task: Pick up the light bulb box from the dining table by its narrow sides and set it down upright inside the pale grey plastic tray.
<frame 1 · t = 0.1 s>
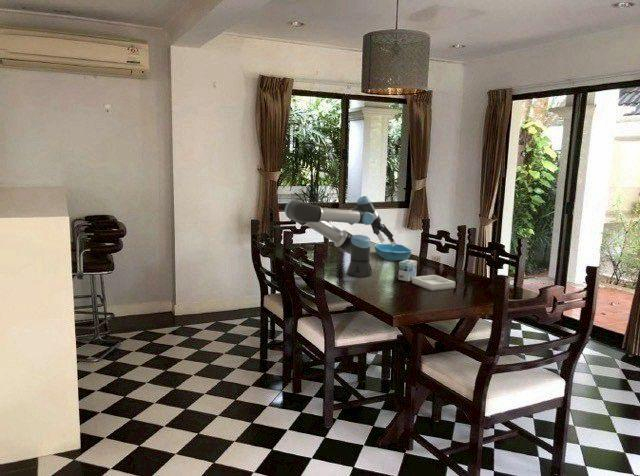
hand: (388, 243, 329), 15 cm above the table, tool tilted 35°, fingers open, 13 cm apart
casserole dish: (392, 257, 364), on the table
tray: (433, 285, 284), on the table
light bulb box: (407, 279, 298), on the table
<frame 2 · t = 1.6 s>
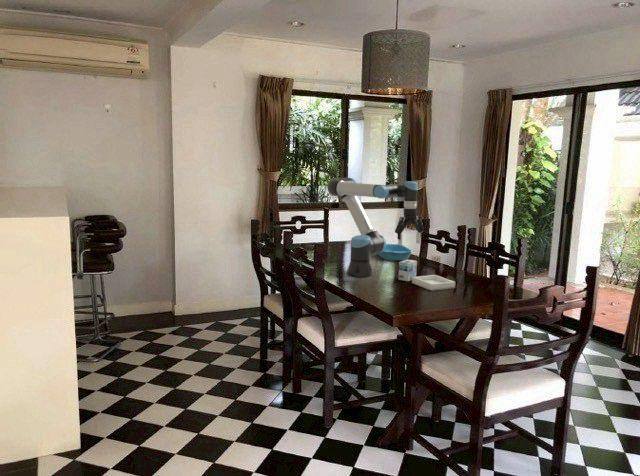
hand: (409, 244, 297), 21 cm above the table, tool pointing down, fingers open, 13 cm apart
nothing on the table moved.
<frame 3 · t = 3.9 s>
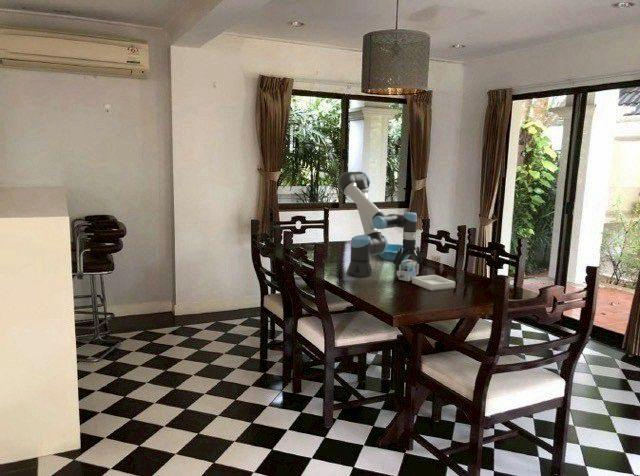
hand: (407, 275, 298), 2 cm above the table, tool pointing down, fingers closed on light bulb box, 12 cm apart
light bulb box: (407, 279, 298), on the table, touching gripper
everything else where it was.
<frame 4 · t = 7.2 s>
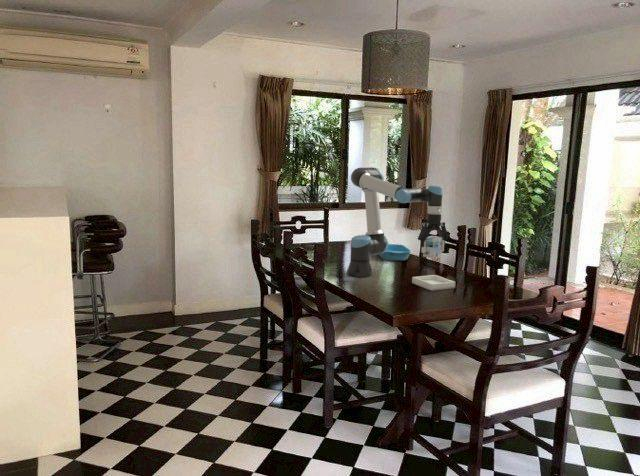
hand: (432, 252, 283), 19 cm above the table, tool pointing down, fingers closed on light bulb box, 12 cm apart
light bulb box: (432, 256, 283), point 16 cm above the table, touching gripper
everything else where it was.
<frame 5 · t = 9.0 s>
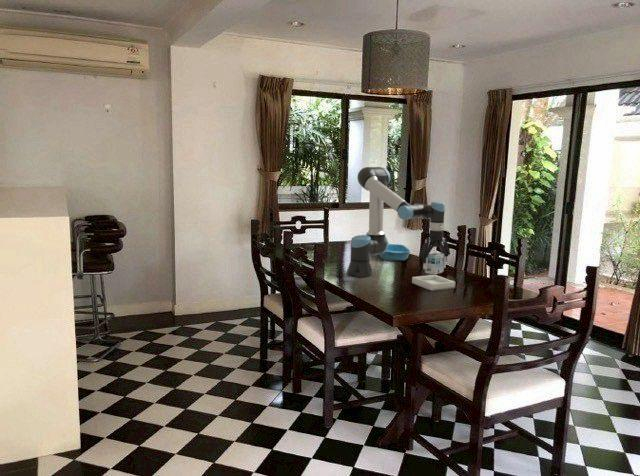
hand: (434, 268, 283), 10 cm above the table, tool pointing down, fingers closed on light bulb box, 12 cm apart
light bulb box: (434, 272, 283), point 7 cm above the table, touching gripper
everything else where it was.
when the fingers open (5 cm above the table, at t = 10.7 s): light bulb box drops 1 cm, resting on tray.
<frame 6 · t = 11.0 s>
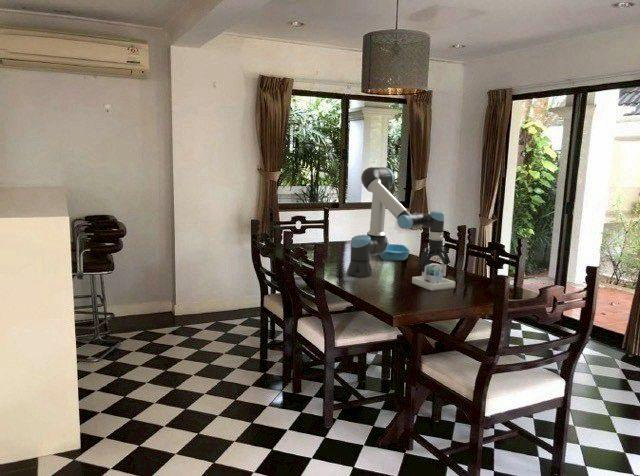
hand: (433, 276, 283), 5 cm above the table, tool pointing down, fingers open, 13 cm apart
light bulb box: (433, 284, 284), point 1 cm above the table, touching tray
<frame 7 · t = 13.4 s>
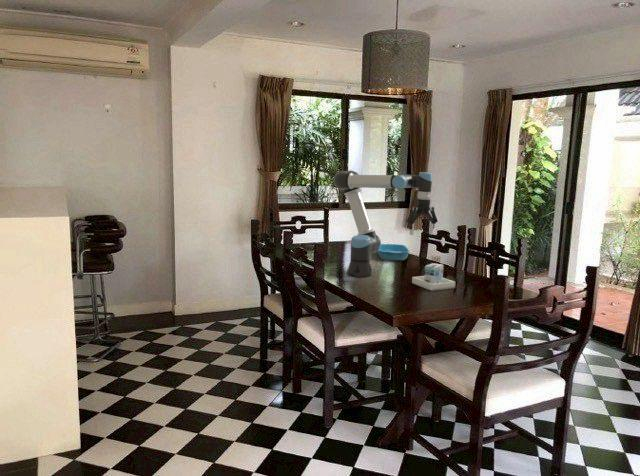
hand: (421, 234, 299), 26 cm above the table, tool pointing down, fingers open, 13 cm apart
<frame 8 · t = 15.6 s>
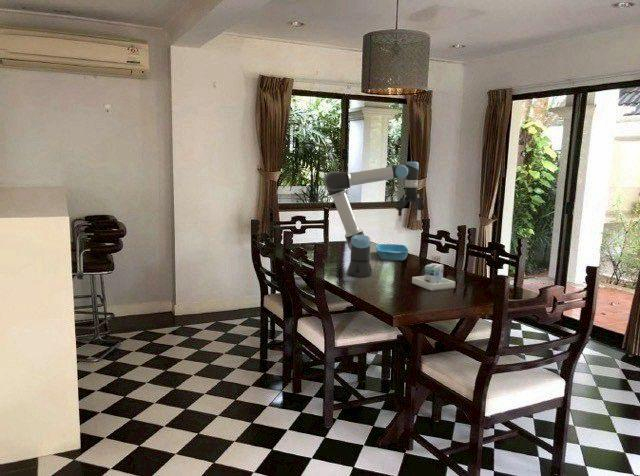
hand: (409, 220, 317), 32 cm above the table, tool pointing down, fingers open, 13 cm apart
at the end: light bulb box inside the target area on the tray (0.1 cm from its centre), point 0.8 cm above the tray's base; light bulb box tilted 0°; the gripper is holding nothing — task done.
